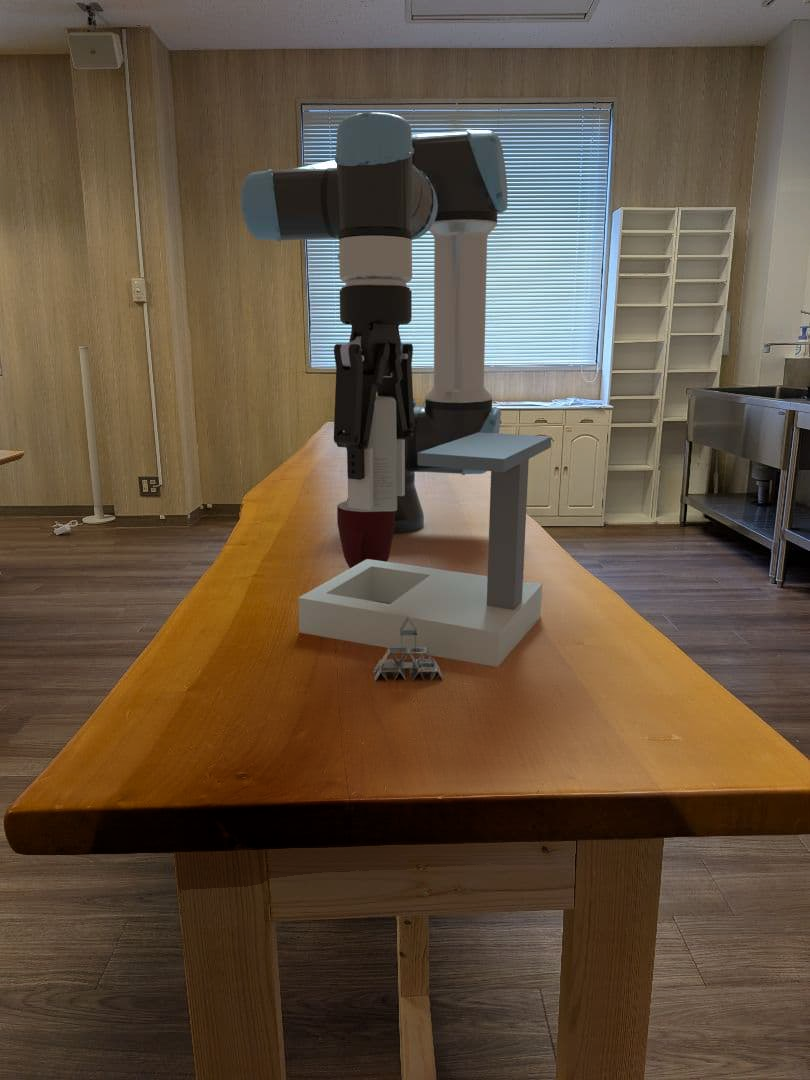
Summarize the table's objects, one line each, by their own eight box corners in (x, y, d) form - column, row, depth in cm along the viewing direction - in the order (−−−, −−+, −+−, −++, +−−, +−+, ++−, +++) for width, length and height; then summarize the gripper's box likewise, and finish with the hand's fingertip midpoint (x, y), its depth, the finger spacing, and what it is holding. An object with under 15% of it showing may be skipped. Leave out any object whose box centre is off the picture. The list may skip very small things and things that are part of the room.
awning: (474, 572, 88) (478, 432, 84) (543, 582, 85) (551, 436, 80) (416, 620, 73) (417, 452, 69) (497, 634, 70) (503, 458, 65)
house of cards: (456, 662, 76) (457, 593, 74) (465, 701, 68) (467, 625, 66) (370, 663, 76) (369, 594, 74) (369, 703, 68) (368, 627, 66)
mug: (391, 589, 97) (390, 516, 95) (331, 587, 98) (329, 515, 95) (397, 565, 108) (397, 499, 105) (343, 564, 108) (341, 498, 105)
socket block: (367, 595, 95) (367, 559, 94) (540, 624, 86) (542, 584, 84) (299, 639, 81) (298, 597, 80) (497, 679, 72) (498, 632, 70)
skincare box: (357, 500, 84) (355, 395, 81) (394, 500, 85) (393, 395, 82) (358, 512, 79) (356, 400, 75) (397, 511, 79) (397, 400, 76)
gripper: (386, 291, 86) (387, 482, 92) (290, 279, 68) (299, 516, 74) (445, 289, 83) (442, 488, 89) (360, 276, 65) (364, 524, 71)
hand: (377, 500), depth 82 cm, fingers closed on skincare box, 7 cm apart
